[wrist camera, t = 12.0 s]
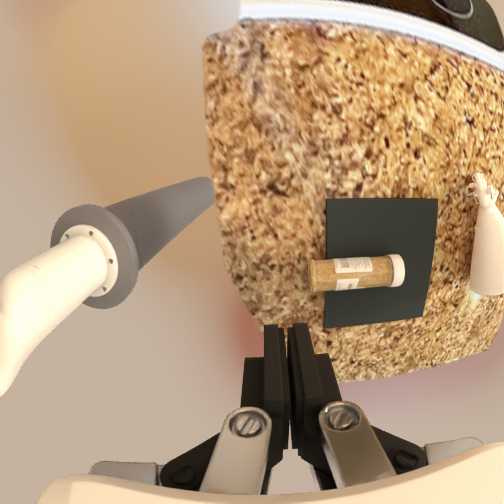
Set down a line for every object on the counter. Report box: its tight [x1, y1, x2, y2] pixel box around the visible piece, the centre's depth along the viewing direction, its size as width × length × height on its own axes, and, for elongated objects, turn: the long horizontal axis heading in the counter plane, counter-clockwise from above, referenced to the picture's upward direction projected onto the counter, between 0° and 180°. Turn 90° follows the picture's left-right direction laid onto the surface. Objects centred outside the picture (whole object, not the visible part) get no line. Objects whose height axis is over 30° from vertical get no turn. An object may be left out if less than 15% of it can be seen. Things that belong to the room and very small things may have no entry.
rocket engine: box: [466, 173, 504, 295], centre depth 32 cm, size 12×12×18 cm
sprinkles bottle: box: [308, 254, 405, 293], centre depth 37 cm, size 5×5×13 cm
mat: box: [324, 198, 438, 328], centre depth 39 cm, size 18×20×1 cm
